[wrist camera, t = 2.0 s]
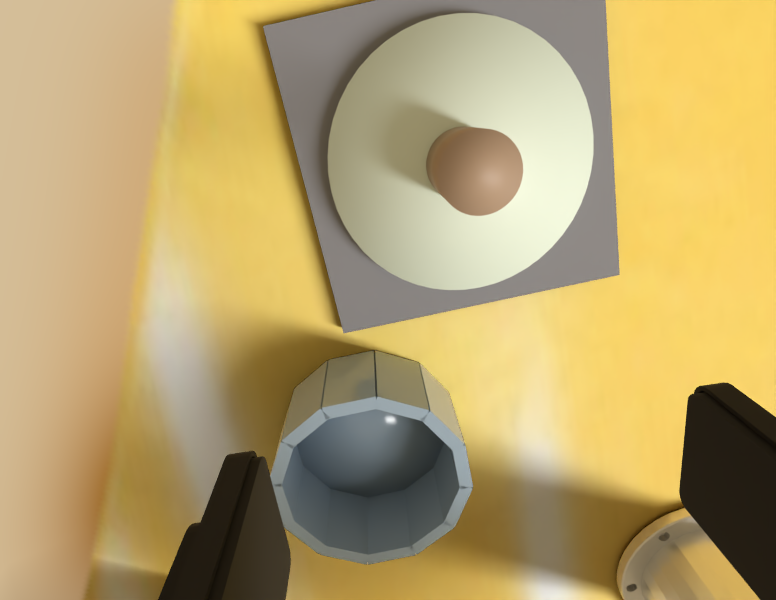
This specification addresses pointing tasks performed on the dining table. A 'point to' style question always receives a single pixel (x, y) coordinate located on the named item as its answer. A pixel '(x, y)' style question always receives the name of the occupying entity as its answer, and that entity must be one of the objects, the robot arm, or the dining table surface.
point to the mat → (318, 106)
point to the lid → (460, 151)
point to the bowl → (370, 460)
